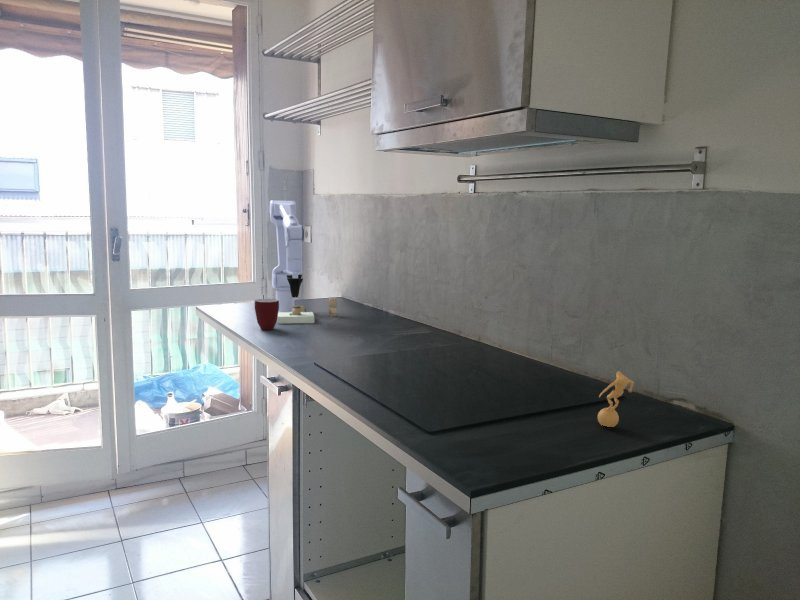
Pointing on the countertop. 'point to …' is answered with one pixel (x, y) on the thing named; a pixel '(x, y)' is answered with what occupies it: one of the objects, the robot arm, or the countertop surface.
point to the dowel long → (332, 307)
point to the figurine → (609, 414)
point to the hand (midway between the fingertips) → (294, 295)
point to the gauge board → (295, 317)
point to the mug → (266, 313)
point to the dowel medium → (296, 310)
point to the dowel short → (302, 308)
